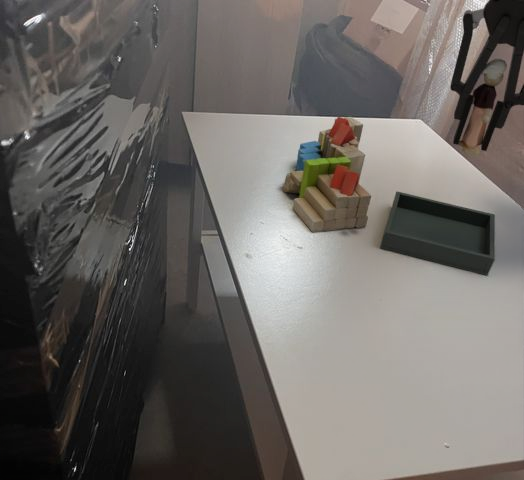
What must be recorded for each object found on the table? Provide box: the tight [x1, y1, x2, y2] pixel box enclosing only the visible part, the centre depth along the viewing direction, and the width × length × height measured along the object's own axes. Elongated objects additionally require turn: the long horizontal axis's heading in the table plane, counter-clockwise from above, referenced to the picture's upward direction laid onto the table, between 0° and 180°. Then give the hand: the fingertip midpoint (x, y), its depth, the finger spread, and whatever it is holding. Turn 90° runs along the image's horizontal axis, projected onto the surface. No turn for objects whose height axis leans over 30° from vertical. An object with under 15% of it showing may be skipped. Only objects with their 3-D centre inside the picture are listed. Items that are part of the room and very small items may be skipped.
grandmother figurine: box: [457, 58, 508, 156], centre depth 85 cm, size 8×4×13 cm, turn 12°
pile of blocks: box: [282, 116, 372, 233], centre depth 107 cm, size 36×15×11 cm, turn 177°
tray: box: [379, 190, 496, 276], centre depth 99 cm, size 18×16×3 cm
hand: (469, 143), depth 89 cm, fingers closed on grandmother figurine, 3 cm apart
